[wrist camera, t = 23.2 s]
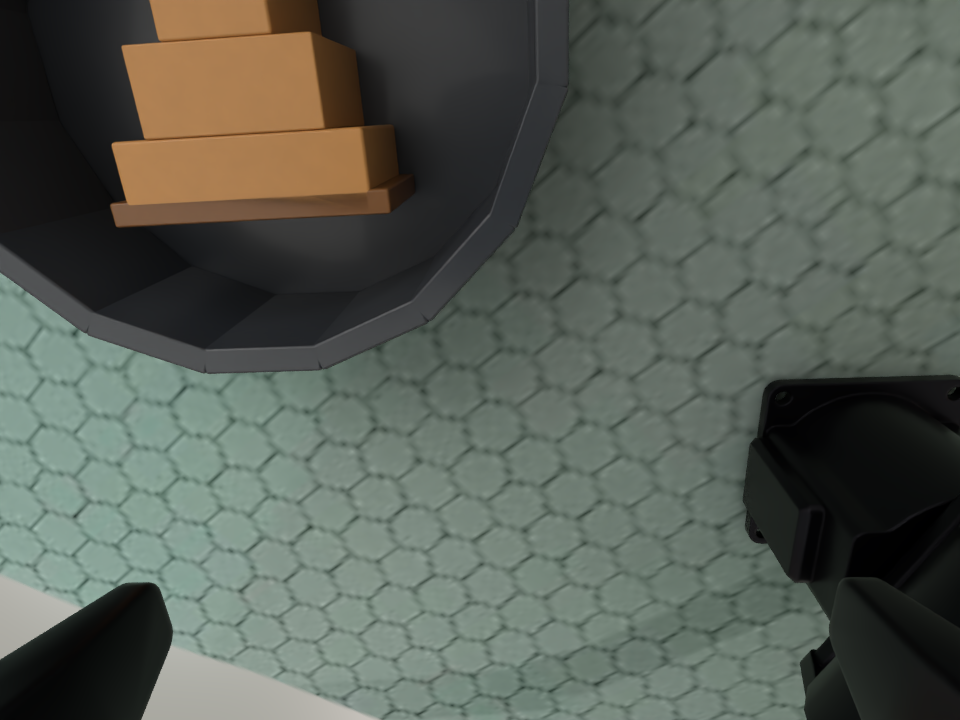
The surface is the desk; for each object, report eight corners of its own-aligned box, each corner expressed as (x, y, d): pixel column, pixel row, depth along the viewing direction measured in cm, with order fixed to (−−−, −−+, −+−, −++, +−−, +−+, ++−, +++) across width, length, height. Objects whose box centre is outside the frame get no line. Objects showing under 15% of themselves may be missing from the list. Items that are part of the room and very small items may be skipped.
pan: (549, -337, 14) (570, -596, 9) (554, 300, 20) (568, 363, 15) (-69, -269, 15) (-369, -466, 10) (108, 316, 21) (-23, 382, 16)
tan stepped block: (416, 194, 18) (391, 214, 14) (193, 205, 19) (115, 228, 15) (384, -131, 15) (343, -211, 11) (121, -107, 16) (0, -176, 12)
